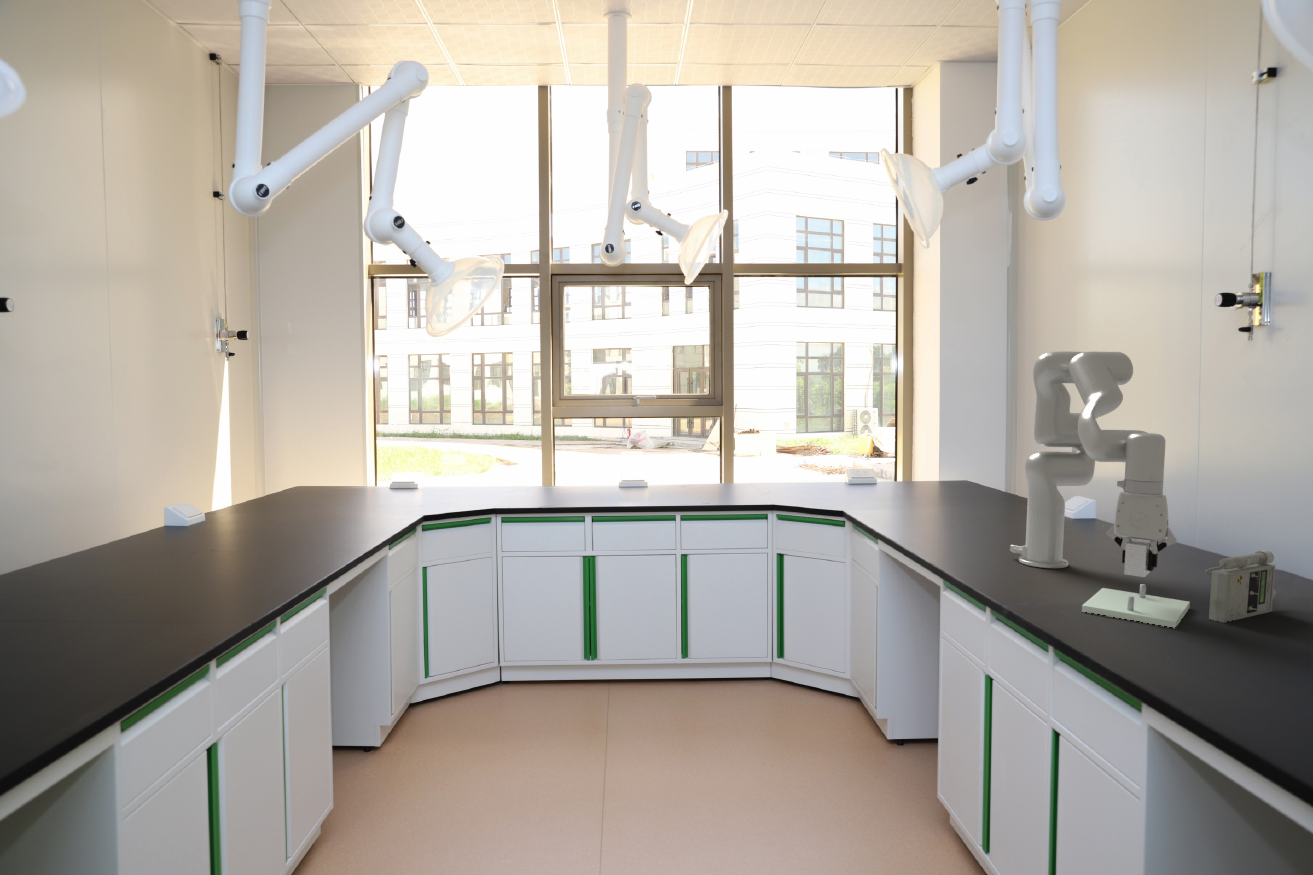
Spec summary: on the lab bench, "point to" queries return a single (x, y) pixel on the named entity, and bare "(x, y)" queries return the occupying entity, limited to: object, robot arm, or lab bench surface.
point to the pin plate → (1137, 607)
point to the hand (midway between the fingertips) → (1139, 567)
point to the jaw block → (1137, 557)
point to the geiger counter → (1242, 587)
